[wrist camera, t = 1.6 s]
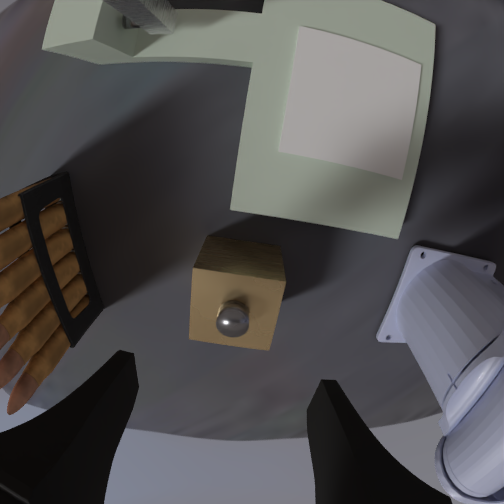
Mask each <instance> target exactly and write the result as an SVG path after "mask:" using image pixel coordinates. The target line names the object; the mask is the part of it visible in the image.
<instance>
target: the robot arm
mask: <svg viewBox="0 0 504 504" xmlns="http://www.w3.org/2000/svg"><path fill="white" fill-rule="evenodd" d="M422 252H424V254H423V255H422V256H421V253H422ZM484 266H485V267H484ZM495 270H496V264H495V263H493V262H491V261H487V260H482V259H478V258H474V257H469V256H465V255H461V254H456V253H452V252H447V251H443V250H438V249H433V248H429V247H424V246H419V245H415V246H413V247H412V248H411V250H410V253H409V256H408V258H407V261H406V264H405V267H404V270H403V272H402V275H401V278H400V280H399V283H398V285H397V288H396V290H395V293H394V295H393V298H392V300H391V303H390V305H389V308H388V310H387V312H386V315H385V317H384V319H383V321H382V324H381V326H380V328H379V330H378V332H377V335H376V337H377V340H378V341H379V342H397V343H407V344H408V346H409V347H410V349H411V351H412V353H413V355H414V356H415V358H416V360H417V362H418V364H419V366H420V367H421V369H422V371H423V373H424V375H425V377H426V379H427V381H428V383H429V384H430V386H431V388H432V390H433V392H434V394H435V396H436V398H437V400H438V402H439V404H440V406H441V408H442V410H443V415H442V417H441V419H440V420H439V422H438V423H439V426H440V428H441V430H442V433H443V437H442V438H441V439H440V441H439V443H438V445H437V448H436V452H435V469H436V473H437V476H438V479H439V481H440V483H441V485H442V487H443V488H444V489H445V491H446V492H447V493H448V494H449V495H450V496H451V497H453V498H454V499H456V500H457V501H460V502H462V503H465V504H504V285H502V284H501V283H500V282H499V281H498V280H497V279H496V278H494V277H493V275H494V272H495ZM388 335H389V336H388ZM387 336H388V337H387ZM138 389H139V384H138V378H137V371H136V365H135V357H134V353H130V352H126V351H122V350H119V351H117V352H116V353H115V354H114V355H113V356H112V357H111V358H110V359H109V360H108V361H107V362H106V363H105V364H104V365H103V366H102V367H101V368H100V369H99V370H98V371H97V372H95V373H94V374H93V375H92V376H91V377H90V378H89V379H88V380H87V381H85V382H84V383H83V384H82V385H81V386H80V387H78V388H77V389H76V390H75V391H73V392H72V393H71V394H70V395H68V396H67V397H66V398H65V399H63V400H62V401H60V402H59V403H58V404H56V405H55V406H53V407H52V408H50V409H49V410H47V411H45V412H44V413H42V414H40V415H39V416H37V417H35V418H33V419H31V420H29V421H27V422H25V423H23V424H21V425H18V426H16V427H14V428H12V429H9V430H7V431H4V432H1V433H0V504H104V500H105V493H106V488H107V483H108V478H109V474H110V470H111V466H112V461H113V458H114V455H115V452H116V449H117V447H118V444H119V442H120V439H121V437H122V434H123V432H124V430H125V427H126V425H127V422H128V420H129V417H130V415H131V412H132V410H133V407H134V403H135V400H136V396H137V392H138ZM307 433H308V439H309V446H310V452H311V458H312V464H313V471H314V478H315V497H316V504H452V501H451V499H450V497H449V496H446V495H445V494H443V493H441V492H439V491H438V490H436V489H434V488H432V487H430V486H429V485H428V484H426V483H425V482H423V481H422V480H420V479H419V478H417V477H416V476H415V475H413V474H412V473H411V472H410V471H409V470H407V469H406V468H405V467H404V466H403V465H401V464H400V463H399V462H398V461H397V460H396V459H395V458H394V457H393V456H392V455H391V454H390V453H389V452H388V451H387V450H386V449H385V448H384V447H383V446H382V444H381V443H380V442H379V441H378V440H377V439H376V437H375V436H374V435H373V433H372V432H371V431H370V430H369V428H368V427H367V426H366V424H365V423H364V421H363V420H362V419H361V417H360V416H359V414H358V413H357V411H356V410H355V409H354V407H353V405H352V404H351V402H350V401H349V399H348V398H347V396H346V395H345V393H344V392H343V390H342V388H341V387H340V385H339V384H338V382H337V381H336V380H322V379H321V381H320V383H319V386H318V388H317V390H316V392H315V394H314V396H313V398H312V400H311V402H310V404H309V406H308V409H307Z"/></svg>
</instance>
